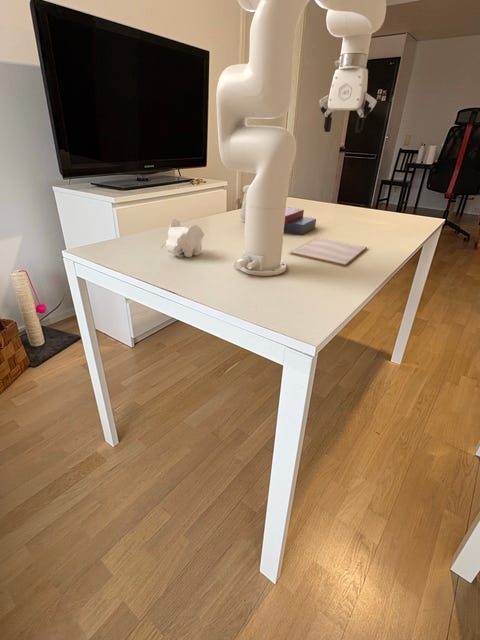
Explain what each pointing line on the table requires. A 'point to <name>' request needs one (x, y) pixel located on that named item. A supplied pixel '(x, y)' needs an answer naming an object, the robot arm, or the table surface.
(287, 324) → the table surface
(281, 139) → the robot arm
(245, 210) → the salt shaker
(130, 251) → the table surface
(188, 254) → the elephant figurine
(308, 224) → the navy book
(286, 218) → the red rectangular block
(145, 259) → the table surface
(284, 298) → the table surface
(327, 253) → the wooden board
